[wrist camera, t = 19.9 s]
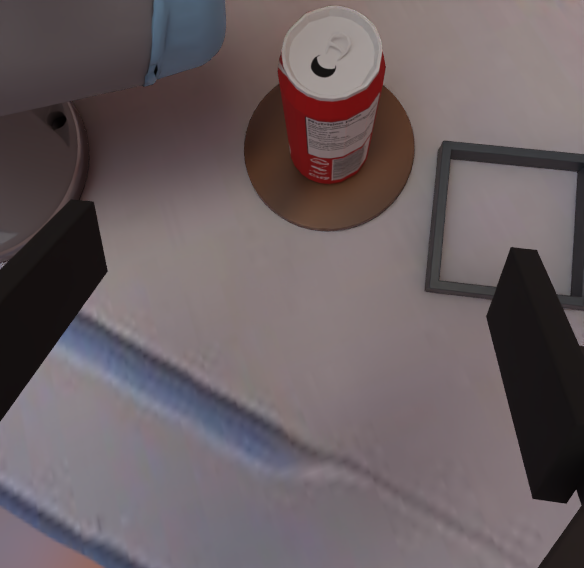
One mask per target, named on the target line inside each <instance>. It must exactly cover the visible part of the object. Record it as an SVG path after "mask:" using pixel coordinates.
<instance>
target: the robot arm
mask: <svg viewBox="0 0 584 568" xmlns="http://www.w3.org/2000/svg"><path fill="white" fill-rule="evenodd" d="M225 31H226V10H225V0H0V262H4V261H7V260H9V261H8V262H7V263H6V264H5V265H4V266H3V267H2V268H1V269H0V421H1V420H2V418H3V417H4V416H5V414H6V413H7V411H8V410H9V409H10V407H11V406H12V404H13V403H14V402H15V400H16V399H17V397H18V396H19V395H20V393H21V392H22V390H23V389H24V388H25V386H26V385H27V383H28V382H29V381H30V379H31V378H32V376H33V375H34V374H35V372H36V371H37V369H38V368H39V367H40V365H41V364H42V362H43V361H44V360H45V358H46V357H47V355H48V354H49V353H50V351H51V350H52V348H53V347H54V346H55V344H56V343H57V341H58V340H59V339H60V337H61V336H62V334H63V333H64V332H65V330H66V329H67V328H68V326H69V325H70V323H71V322H72V321H73V319H74V318H75V316H76V315H77V314H78V312H79V311H80V309H81V308H82V307H83V305H84V304H85V302H86V301H87V300H88V298H89V297H90V295H91V294H92V293H93V291H94V290H95V288H96V287H97V286H98V284H99V283H100V281H101V280H102V279H103V277H104V276H105V274H106V273H107V272H108V271H107V266H106V261H105V256H104V251H103V246H102V241H101V236H100V231H99V226H98V221H97V216H96V211H95V206H94V202H92V201H82V200H79V198H80V196H81V193H82V191H83V188H84V185H85V182H86V178H87V173H88V165H89V145H88V138H87V133H86V129H85V126H84V123H83V121H82V119H81V116H80V114H79V112H78V111H77V109H76V107H75V106H74V104H73V103H72V102H71V101H73V100H77V99H82V98H86V97H91V96H96V95H100V94H105V93H109V92H114V91H118V90H123V89H128V88H132V87H137V86H141V85H142V86H143V87H145V86H149V85H153V84H154V83H155V82H156V80H157V79H160V78H163V77H166V76H170V75H173V74H176V73H179V72H183V71H186V70H189V69H192V68H196V67H199V66H202V65H204V64H205V63H207V62H208V61H210V60H211V58H212V57H213V56H214V55H216V54H217V53H218V51H219V50H220V48H221V46H222V43H223V41H224V38H225ZM486 317H487V321H488V325H489V329H490V333H491V337H492V341H493V345H494V349H495V353H496V357H497V361H498V365H499V368H500V372H501V376H502V380H503V384H504V388H505V392H506V396H507V400H508V404H509V408H510V412H511V416H512V419H513V423H514V427H515V431H516V435H517V439H518V443H519V447H520V451H521V455H522V459H523V463H524V467H525V470H526V474H527V478H528V482H529V486H530V490H531V494H532V498H533V499H538V500H545V501H552V502H559V503H565V504H567V502H568V501H569V499H570V498H571V496H572V495H573V493H574V492H575V490H577V493H578V496H579V499H580V502H581V505H582V506H581V507H580V509H579V510H578V512H577V513H576V514H575V516H574V517H573V519H572V520H571V521H570V523H569V524H568V526H567V527H566V529H565V530H564V531H563V533H562V534H561V536H560V537H559V538H558V540H557V541H556V543H555V544H554V545H553V547H552V548H551V550H550V551H549V553H548V554H547V555H546V557H545V558H544V560H543V561H542V562H541V564H540V565H539V567H538V568H584V346H579V344H578V342H577V339H576V337H575V335H574V333H573V330H572V328H571V326H570V324H569V321H568V319H567V317H566V315H565V312H564V310H563V308H562V306H561V303H560V301H559V299H558V296H557V294H556V292H555V290H554V287H553V285H552V283H551V281H550V278H549V276H548V274H547V272H546V269H545V267H544V265H543V263H542V260H541V258H540V256H539V254H538V251H537V250H531V249H522V248H513V247H511V248H510V251H509V254H508V257H507V260H506V263H505V265H504V268H503V271H502V274H501V277H500V279H499V282H498V285H497V288H496V291H495V293H494V296H493V299H492V302H491V305H490V307H489V310H488V313H487V316H486Z"/></svg>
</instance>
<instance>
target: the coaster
mask: <svg viewBox="0 0 584 568" xmlns="http://www.w3.org/2000/svg"><path fill="white" fill-rule="evenodd" d="M244 156H245V164H246V168H247V172H248V175H249V178H250V180H251V183H252V185H253V187H254V189H255V190H256V192H257V194H258V195H259V197H260V198H261V199H262V201H263V202H264V203H265V204H266V205H267V206H268V207H269V208H270V209H271V210H272V211H273V212H274V213H276V214H277V215H278V216H280V217H281V218H283V219H285V220H286V221H288V222H290V223H292V224H295V225H297V226H300V227H303V228H307V229H311V230H318V231H338V230H345V229H349V228H353V227H356V226H359V225H361V224H364V223H366V222H368V221H370V220H372V219H373V218H375V217H377V216H378V215H379V214H381V213H382V212H383V211H385V210H386V209H387V208H388V207H389V206H390V205H391V204H392V203H393V202H394V201H395V199H396V198H397V197H398V196H399V194H400V193H401V191H402V189H403V187H404V186H405V184H406V182H407V179H408V177H409V174H410V172H411V168H412V164H413V159H414V137H413V130H412V127H411V124H410V120H409V118H408V116H407V114H406V112H405V110H404V108H403V107H402V105H401V104H400V102H399V101H398V100H397V98H396V97H395V96H394V95H393V94H392V93H391V92H390V91H389V90H388V89H387V88H386V87H385V86H382V91H381V96H380V100H379V105H378V109H377V114H376V119H375V123H374V128H373V133H372V137H371V142H370V146H369V151H368V156H367V160H366V161H365V162H364V164H363V165H362V167H361V168H360V170H359V171H358V173H356V174H355V175H353V176H351V177H349V178H347V179H346V180H344V181H342V182H338V183H332V184H324V183H318V182H315V181H313V180H310V179H308V178H307V177H305V176H304V175H302V174H301V173H300V171H299V170H298V169H297V168H296V167H295V165H294V163H293V161H292V159H291V154H290V148H289V141H288V135H287V129H286V122H285V116H284V109H283V103H282V97H281V90H280V84H279V85H277V86H276V87H274V88H273V89H272V90H271V91H270V92H269V93H268V94H267V95H266V96H265V97H264V99H263V100H262V101H261V102H260V103H259V105H258V106H257V108H256V110H255V111H254V113H253V115H252V117H251V119H250V122H249V125H248V128H247V131H246V136H245V143H244Z"/></svg>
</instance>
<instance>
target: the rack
mask: <svg viewBox="0 0 584 568" xmlns="http://www.w3.org/2000/svg"><path fill="white" fill-rule="evenodd" d="M450 159H460V160H470V161H480V162H490V163H500V164H510V165H520V166H530V167H540V168H550V169H560V170H570V171H578V179H577V197H576V215H575V232H574V250H573V267H572V285H571V296H567V295H558V294H557V296H558V299H559V301H560V303H561V306H562V308H569V309H577V310H584V154H575V153H565V152H555V151H544V150H534V149H524V148H513V147H503V146H493V145H483V144H472V143H462V142H452V141H443V142H442V144H441V146H440V148H439V150H438V158H437V168H436V179H435V189H434V200H433V210H432V220H431V231H430V241H429V252H428V262H427V273H426V283H425V291H426V292H434V293H443V294H451V295H459V296H468V297H476V298H485V299H493V296H494V293H495V291H496V288H497V287H490V286H482V285H473V284H465V283H456V282H448V281H439V277H440V266H441V255H442V244H443V233H444V222H445V211H446V201H447V190H448V179H449V168H450Z"/></svg>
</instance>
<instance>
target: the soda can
mask: <svg viewBox="0 0 584 568" xmlns="http://www.w3.org/2000/svg"><path fill="white" fill-rule="evenodd" d="M382 50H383V49H382V43H381V38H380V36H379V34H378V32H377V30H376V28H375V26H374V25H373V24H372V23H371V22H370V20H369V19H368V18H367V17H365V16H364V15H362V14H361V13H359V12H357V11H356V10H353V9H349V8H346V7H343V6H327V7H324V8H320V9H317V10H313V11H310V12H307V13H305V14H304V15H303V16H302V17H301V18H300V19H299V20H298V21H297V22H296V23H295V24H294V25H293V26H292V27H291V28H290V29H289V30H288V32H287V34H286V36H285V39H284V41H283V46H282V52H281V55H280V58H279V64H278V77H279V84H280V90H281V97H282V103H283V109H284V116H285V122H286V129H287V135H288V141H289V148H290V154H291V159H292V161H293V163H294V165H295V167H296V168H297V169H298V170H299V171H300V173H301V174H302V175H304V176H305V177H307V178H308V179H310V180H313V181H315V182H318V183H324V184H332V183H338V182H342V181H344V180H346V179H347V178H349V177H351V176H353V175H355V174H356V173H358V171H359V170H360V168H361V167H362V165H363V164H364V162H365V161H366V160H367V156H368V151H369V146H370V142H371V137H372V133H373V128H374V123H375V119H376V114H377V109H378V105H379V100H380V96H381V91H382V86H383V80H384V74H385V68H386V66H385V61H384V55H383V51H382Z"/></svg>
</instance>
